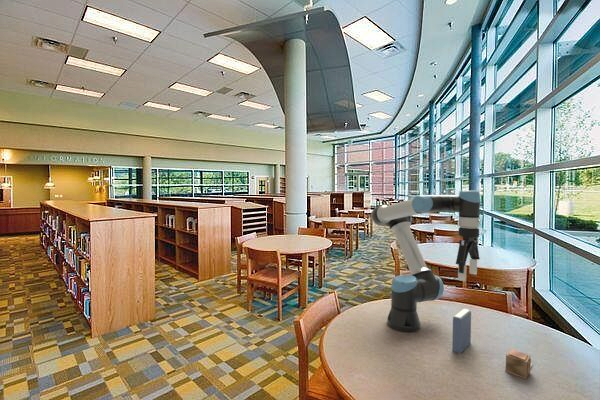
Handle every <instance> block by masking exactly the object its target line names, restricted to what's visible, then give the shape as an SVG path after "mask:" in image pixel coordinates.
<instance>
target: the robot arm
mask: <svg viewBox="0 0 600 400" xmlns="http://www.w3.org/2000/svg"><path fill="white" fill-rule="evenodd" d="M480 195H481V194H480V191H478V190H460V191H459V194H457V195H456V194H420V195H418V194H417V195H415V196H414V198H411V199H408V200H404V201H400V202H396V203H393V204H390V205H386V204H384V205H378V206H376V207H374V209H372V211H371V219H372V222H373V223H374V224H376V225H378V226H381V227H389V229H390V232H393V233H394V235H395V237H396V240H397V242H398V245H399V247H400V250H401V252H402V254H403V257H404V259H405V262H406V264H407V267H408V271H409V272H410V274H399V275H395V277H393V278H392V279H391V285H390V289H391V293H390V294H391V296H390V299H391V300H390V310H389V313H388V316H387V321H386V322H387V323H386V324H387V325H388V327H390V328H391V329H393V330H395V331H397V332H398V331H399V332H403V333H414V332H417V331H420V329H421V321H420V318H419V314H418V311H417V308H418V307H417V304H418V303H424V302H431V301H432V302H433V301H435V300H439V299H440V298H441V297H443V295H444V291H445V287H444V283H443V280H442V279H441V277H439V276H438V275H435V273H433V270H432V269H430V268H428V267H427V264H426V262H425V260H424V257H423V254H422V253H421V250H420V248H419V245H418V244H417V241H416V239H415V236H414V234H413V232H412V230H411V225H412V221H413V218H412V217H413V216H416V215H421V214H427V213H442V212H443V213H445V212H452V213H458V236H459V237H462V239H459V242H458V243H459V246H458V251H457V254H456V255H457V256H456V261H455V265H457V266H458V267H457V269H458V270H457V281H462V282H466V281H467V265H466V263H467V259H468V256H469V257H470V258H469V275H470V274H471V275H476V276H477V274H478V260H480V254H479V253H480V252H479V246H478V238H479V237H480V228H479V227H480V223H481V222H482V220H480V207H481V199H480V198H481V196H480Z"/></svg>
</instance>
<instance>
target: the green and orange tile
mask: <svg viewBox="0 0 600 400" xmlns="http://www.w3.org/2000/svg"><path fill="white" fill-rule="evenodd" d="M504 371H505V372H507V373H509V374H512V375H515V376H517V377H519V378H522V379H524V380H525V379H527V378H525V377H522V376H520V375H517V374H514V373H512V372H509V371H507V370H506V368H505V369H504Z"/></svg>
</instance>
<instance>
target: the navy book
mask: <svg viewBox="0 0 600 400" xmlns="http://www.w3.org/2000/svg"><path fill="white" fill-rule="evenodd" d="M471 333H472V310H470V309H467V308H463V309H461V310H460V311H459V312H457V313H456V314H454V315H453V316H452V347H451V348H452V349H451V351H453V352H454V353H457V354H459V355H460V354H462V353H463V352H464V350H466V349H467V347H469V345H470V344H471V336H472V334H471Z"/></svg>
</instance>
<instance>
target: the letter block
mask: <svg viewBox="0 0 600 400" xmlns="http://www.w3.org/2000/svg"><path fill="white" fill-rule="evenodd" d="M531 364H532V358H531V355H529V354H528V353H524V352H522V351H520V350H516V349H513V348H512V349H511V348H509V350H508V352H507V353H506V355H505V369H506V370H507V371H509V372H512V373H514V374H517V375H520V376H522V377H525V378H526V379H527V378H528V376H529V374H530V371H531V369H532V367H531ZM509 372H508V373H509ZM512 373H511V374H512ZM514 374H513V375H514ZM517 375H516V376H517ZM522 377H521V378H522ZM525 378H524V379H525Z"/></svg>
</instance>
